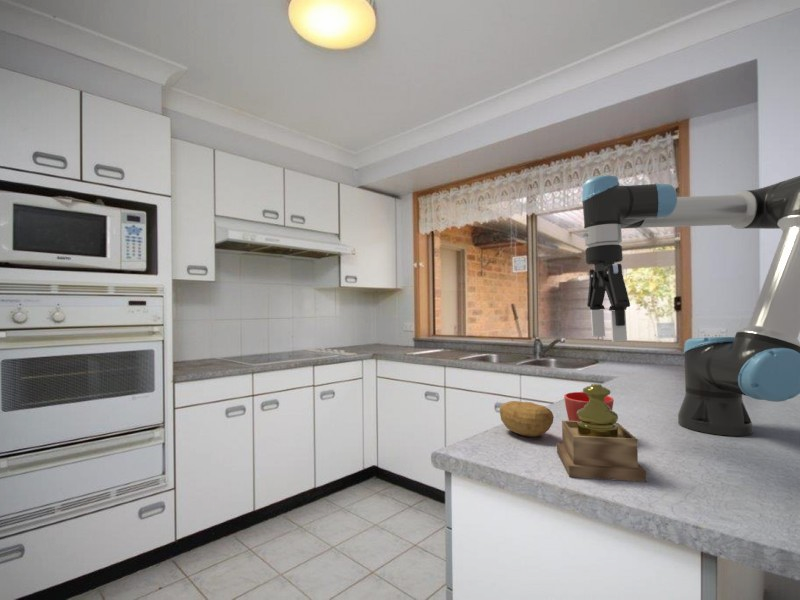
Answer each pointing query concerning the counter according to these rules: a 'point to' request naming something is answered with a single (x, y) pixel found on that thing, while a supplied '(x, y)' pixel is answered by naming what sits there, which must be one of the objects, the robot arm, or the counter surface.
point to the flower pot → (580, 403)
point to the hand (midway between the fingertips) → (608, 338)
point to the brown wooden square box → (600, 455)
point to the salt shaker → (597, 414)
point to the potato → (526, 418)
